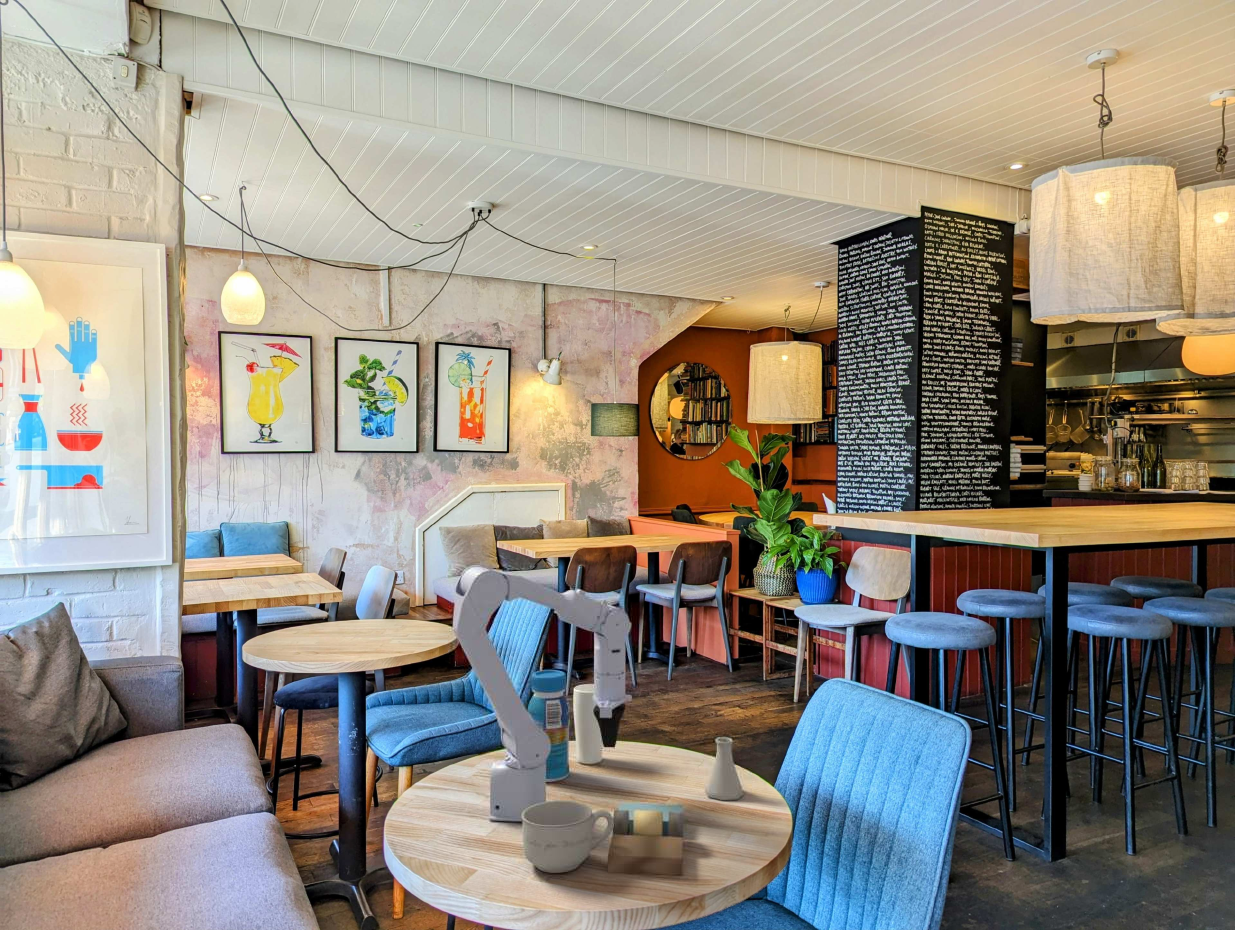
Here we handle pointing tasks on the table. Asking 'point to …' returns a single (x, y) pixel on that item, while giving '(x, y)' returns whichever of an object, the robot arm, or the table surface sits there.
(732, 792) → the flask
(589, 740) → the drinking glass
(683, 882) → the table surface
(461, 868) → the table surface
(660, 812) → the loose hinge leaf
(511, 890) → the table surface
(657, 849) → the fixed hinge leaf
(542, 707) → the beverage bottle
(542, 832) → the teacup
